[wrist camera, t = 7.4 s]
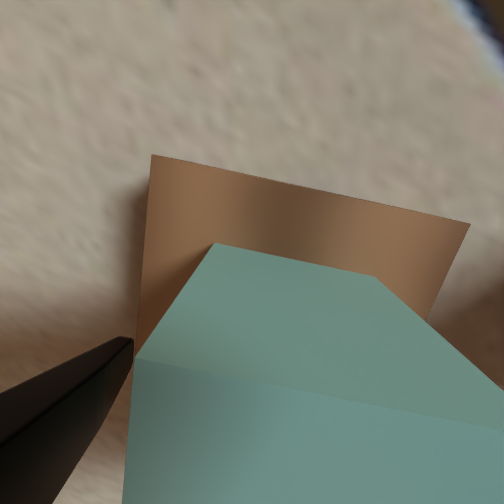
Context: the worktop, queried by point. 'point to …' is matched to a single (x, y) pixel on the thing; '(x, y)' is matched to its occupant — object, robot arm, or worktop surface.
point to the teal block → (306, 395)
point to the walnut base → (283, 234)
